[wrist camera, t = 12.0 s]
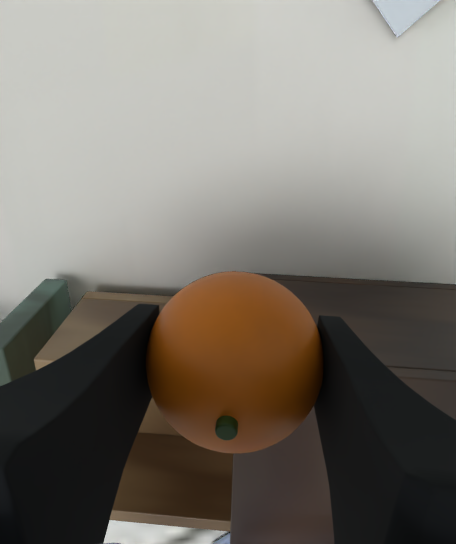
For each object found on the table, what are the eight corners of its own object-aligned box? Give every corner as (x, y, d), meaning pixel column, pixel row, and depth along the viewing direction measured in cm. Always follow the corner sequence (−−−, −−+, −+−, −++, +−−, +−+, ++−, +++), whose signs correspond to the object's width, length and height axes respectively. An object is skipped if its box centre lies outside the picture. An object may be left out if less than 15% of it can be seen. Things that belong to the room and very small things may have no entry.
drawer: (1, 423, 28) (-65, 511, 23) (-42, 272, 23) (-139, 338, 18) (279, 446, 27) (282, 545, 21) (295, 292, 22) (303, 369, 17)
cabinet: (239, 439, 28) (228, 564, 21) (246, 272, 23) (235, 365, 16) (463, 458, 27) (530, 595, 20) (526, 288, 22) (646, 394, 15)
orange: (243, 394, 15) (232, 532, 11) (138, 312, 14) (77, 428, 10) (346, 313, 14) (385, 437, 9) (236, 212, 12) (217, 297, 8)
